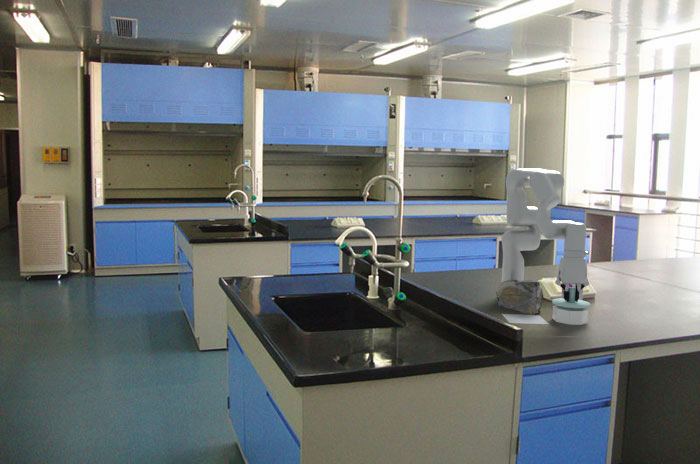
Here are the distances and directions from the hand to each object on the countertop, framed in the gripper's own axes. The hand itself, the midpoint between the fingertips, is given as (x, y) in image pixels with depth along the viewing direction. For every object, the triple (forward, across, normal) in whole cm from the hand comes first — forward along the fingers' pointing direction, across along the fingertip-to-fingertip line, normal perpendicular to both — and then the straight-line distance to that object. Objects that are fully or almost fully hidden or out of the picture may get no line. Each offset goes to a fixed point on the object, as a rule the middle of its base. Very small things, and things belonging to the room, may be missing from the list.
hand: (571, 300), depth 226 cm
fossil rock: (+9, +15, -18) cm, 25 cm away
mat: (+8, +18, 0) cm, 19 cm away
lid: (+1, 0, 0) cm, 1 cm away
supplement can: (+9, -6, -16) cm, 19 cm away
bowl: (+8, 0, 0) cm, 8 cm away
